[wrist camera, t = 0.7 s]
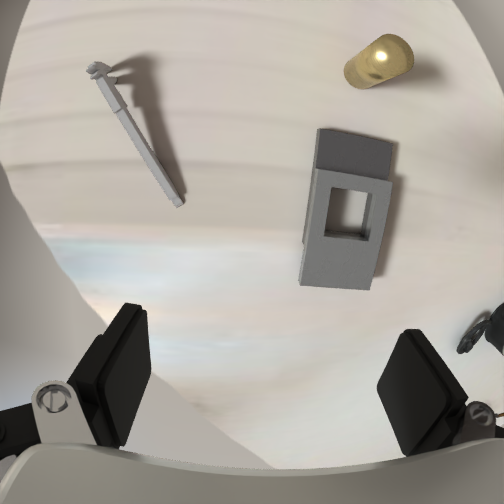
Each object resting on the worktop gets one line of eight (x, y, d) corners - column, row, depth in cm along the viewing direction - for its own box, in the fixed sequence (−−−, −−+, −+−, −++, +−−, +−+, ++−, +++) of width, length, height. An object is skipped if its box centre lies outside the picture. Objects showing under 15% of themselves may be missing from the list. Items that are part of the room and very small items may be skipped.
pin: (344, 55, 29) (375, 28, 19) (375, 63, 29) (414, 42, 19) (342, 85, 30) (374, 66, 21) (373, 92, 30) (413, 78, 21)
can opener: (505, 411, 55) (507, 413, 54) (501, 416, 56) (502, 419, 55) (492, 413, 54) (494, 415, 53) (487, 418, 55) (489, 421, 54)
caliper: (105, 71, 29) (80, 62, 23) (112, 66, 29) (88, 56, 23) (177, 207, 35) (163, 219, 29) (185, 202, 35) (171, 214, 29)
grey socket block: (317, 129, 32) (323, 127, 29) (387, 143, 32) (398, 144, 29) (296, 274, 38) (300, 285, 35) (361, 280, 38) (369, 290, 35)
